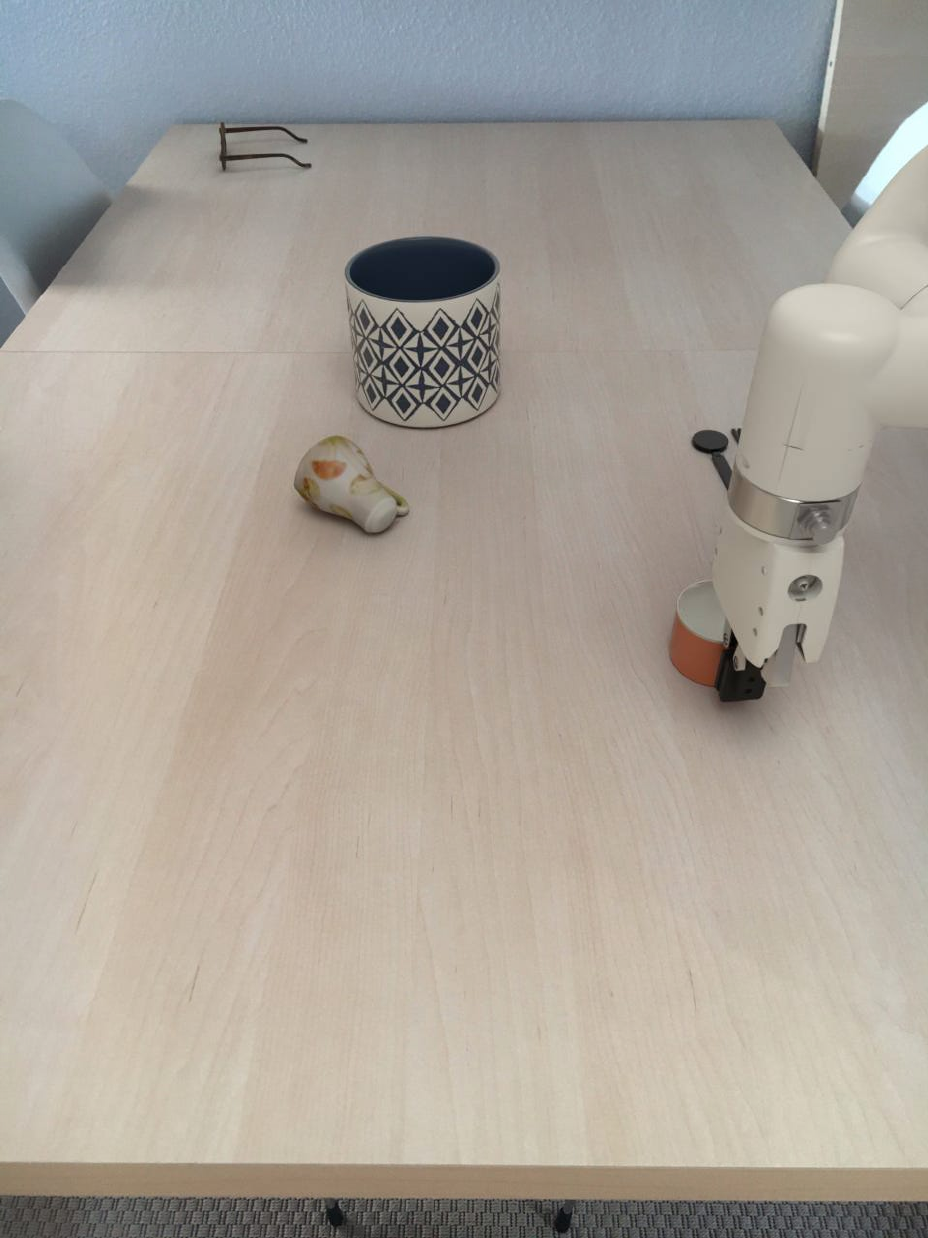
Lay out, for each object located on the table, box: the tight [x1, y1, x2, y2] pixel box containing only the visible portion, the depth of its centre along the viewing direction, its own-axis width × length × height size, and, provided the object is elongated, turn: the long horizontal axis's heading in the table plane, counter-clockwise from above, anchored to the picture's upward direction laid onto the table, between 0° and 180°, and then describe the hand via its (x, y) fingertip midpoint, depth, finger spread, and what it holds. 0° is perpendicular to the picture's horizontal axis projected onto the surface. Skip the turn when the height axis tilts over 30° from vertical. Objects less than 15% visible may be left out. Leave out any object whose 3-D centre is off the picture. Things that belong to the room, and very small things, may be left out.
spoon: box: [691, 429, 733, 491], centre depth 97 cm, size 15×4×1 cm, turn 6°
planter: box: [343, 235, 502, 429], centre depth 105 cm, size 16×16×14 cm
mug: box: [293, 435, 410, 534], centre depth 92 cm, size 8×10×10 cm
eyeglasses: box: [218, 121, 312, 171], centre depth 166 cm, size 15×15×5 cm
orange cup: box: [668, 579, 729, 688], centre depth 78 cm, size 7×7×5 cm
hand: (737, 692), depth 74 cm, fingers closed
